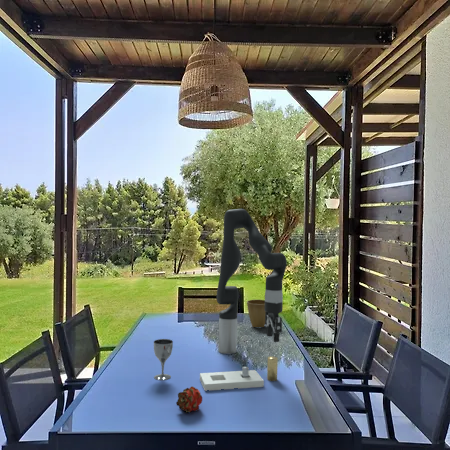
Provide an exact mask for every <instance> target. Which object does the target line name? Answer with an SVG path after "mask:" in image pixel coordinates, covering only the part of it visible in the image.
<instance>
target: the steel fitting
mask: <svg viewBox="0 0 450 450" xmlns="http://www.w3.org/2000/svg"><path fill="white" fill-rule="evenodd" d="M241 369H242V370H241V371H242V378H248V377H249V370H250V367H249V366H242V368H241Z"/></svg>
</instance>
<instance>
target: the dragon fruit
mask: <svg viewBox="0 0 450 450" xmlns="http://www.w3.org/2000/svg"><path fill="white" fill-rule="evenodd" d="M202 402H203V396H202V395H201V392H200V390H199V389H198V388H196V387H194V386H190V387H187V388H185V389H183V391H180V392H178V393H177V401H176V402H175V403H176V406H178V408H179V409H180V410H183V412H184V411H186V412H185V413H187V412H190V413H191V412H192V411H194V412H197V411H199V410H200V405H201V404H202ZM196 410H197V411H196Z"/></svg>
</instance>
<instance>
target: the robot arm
mask: <svg viewBox="0 0 450 450" xmlns="http://www.w3.org/2000/svg"><path fill="white" fill-rule="evenodd" d="M237 229H245V230H246V231H247V232H248V243H249V245H250V247H251V248H252V249H253V250H254V252H255V253H256V254H257V256H258V259H259V260H260V264H261V265H262V267H263V268H264V269H266V270H268V271H272V273H271V274H269V275H267V276H266V277H265V290H264V292H265V293H264V300H265V325H264V326H266V336H267V337H273V342H274V343H279V342H280V333H282V332H283V327H282V326H283V319H282V317H280V316H279V314H281V313H283V306H284V305H283V304H284V303H283V302H284V301H283V300H284V299H283V298H284V294H283V279H284V276H285V273H286V269H287V264H288V263H287V261H288V260H287V257H286V256H285V254H284V253H282V252H272V251H273V247H272V245H271V243H270V242H269V241H268V240H267V239H266V238H265V236H263V234H262V233H261V232H260V229H258V227H257V224H256V223H255V222H254V219H253V218H252V216H251V215H250V213H249V212H248V210H246V209H244V208H237V209H236V208H235V209H228V210H227V211H225V214H224V217H223V239H222V240H223V242H222V251H221V257H220V258H221V260H220V270H219V271H220V272H219V278H218V284H217V289H216V290H217V291H216V301H217V304H218V305H223V306H224V305H226V306H227V305H229V306H228V307H227V308H225V309H222V310H220V311H219V314H218V353H220V354H225V355H231V354H235V353H236V352H237V345H238V344H237V343H238V340H237V339H238V311H239V310H238V309H239V307H238V306H239V297H240V296H239V294H240V293H239V289H238V287H237V286H236V285H235V286H234V285H227V283H228V282H229V280H230V279H231V277H232V276H233V275H234V274H235V273H236V271H238V269H239V267H240V263H241V250H240V248H239V246H238V244H237V243H236V240H235V231H236V230H237Z"/></svg>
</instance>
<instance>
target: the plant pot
mask: <svg viewBox="0 0 450 450" xmlns="http://www.w3.org/2000/svg"><path fill="white" fill-rule="evenodd" d="M246 305H247V306H246V307H247V311H248V316H249V320H250V323H251V327H253V328H254V327H263V328H264V327H265V326H266V325H265V299H249V300H247V301H246Z"/></svg>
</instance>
